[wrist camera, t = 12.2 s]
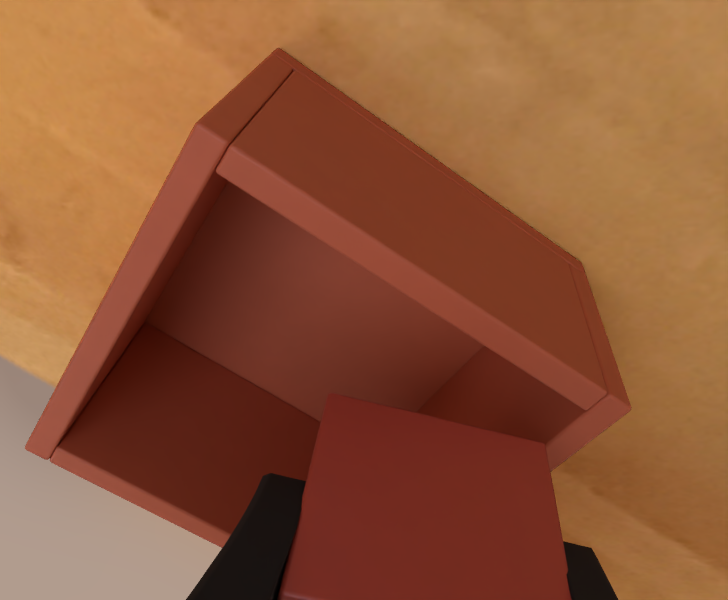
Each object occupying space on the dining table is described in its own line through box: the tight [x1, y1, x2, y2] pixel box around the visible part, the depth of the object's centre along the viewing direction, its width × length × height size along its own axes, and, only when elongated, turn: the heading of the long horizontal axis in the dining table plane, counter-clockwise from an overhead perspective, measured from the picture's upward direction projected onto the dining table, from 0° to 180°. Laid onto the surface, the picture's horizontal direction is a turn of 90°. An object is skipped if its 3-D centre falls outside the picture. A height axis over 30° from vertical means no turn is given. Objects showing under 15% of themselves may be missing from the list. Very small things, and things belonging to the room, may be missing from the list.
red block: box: [277, 393, 572, 600], centre depth 11 cm, size 4×4×4 cm
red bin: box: [25, 48, 631, 548], centre depth 16 cm, size 9×9×6 cm
